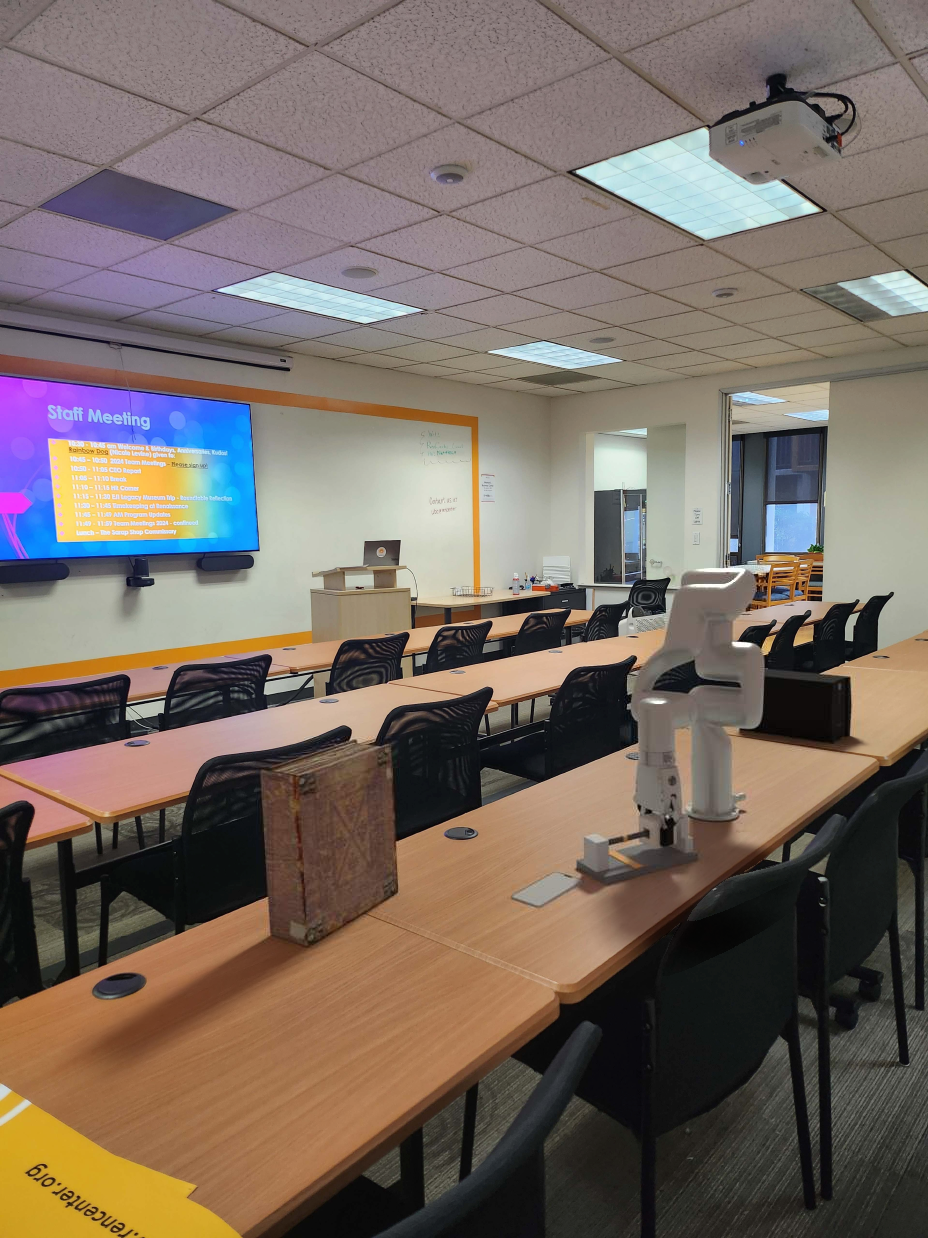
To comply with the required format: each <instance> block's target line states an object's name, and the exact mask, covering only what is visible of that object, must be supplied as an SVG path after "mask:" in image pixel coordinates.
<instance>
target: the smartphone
mask: <svg viewBox="0 0 928 1238" xmlns="http://www.w3.org/2000/svg"><path fill="white" fill-rule="evenodd" d="M583 883H584V881H583V879H581V878H578V877H575V876H571V875H568V874H565V873H561V872H559V871H554V872H551V873H549V874H547V875H546V876H544V877H541V879H538V880H536V881H535V882H533V883H532V884H530V885H527V886H526V887H524V888H522V889H521V890H519V891H517V892H515V893H513V894H512V895H511V896H510V898H511V900H514V901H516V902H519V903H522V904H523V903H524V904H526V905H529V906H532V907H534V908H543V907H544V906H546V905H547V904H549V903H551V902H553V901H555V900H556V899H558V898H560V897H562V896H563V895H565V894H566V893H568V892H570V891H572V890H573V889H575V888H577V887H578V886H580V885H581V884H583Z"/></svg>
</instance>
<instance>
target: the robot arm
mask: <svg viewBox="0 0 928 1238" xmlns="http://www.w3.org/2000/svg"><path fill="white" fill-rule="evenodd" d="M756 591H757V581H756V578H755V575H754V573H753V572H751V570H749V569H746V568H697V569H695V568H694V569H691V570H687V571H685V572H684V573H683V574H682V576H681V577H680V587H679V588H678V589H677V590H676V591H675V593H674V594H673V599H672V604H671V609H670V612H669V613H670V614H669V616H668V617H669V618H668V623H667V628H666V632H665V637H664V641H663V644H662V646H661V647H660V648H658V649H657V650H656V651H655V652H654V653H653V654H651V656H649V657H648V659H647V660H646V661H645V662H644V663H643V664H642V666H641V668H640V669H639V671H638V672H637V674H636V677H635V681H634V686H633V689H632V694H631V701H630V712H631V716H632V718H633V719H634V720H635V721H636V722H637V738H638V739H637V740H638V742H637V743H638V744H637V750H638V754H637V755H638V757H637V758H638V760H637V764H636V765H637V766H636V773H635V794H634V795H633V797H632V800H633V802H634V804H635V805H636V806H637V810H638V812H639V816H641V815H645V814H650V813H654V812H657V813H659V814H660V819H661V824H662V828H660V845H661V846H662V847H665V846H669V845H673V844H674V827H675V826H676V824H677V823H678V821H680V820H681V819H682V818H683V817H684V816H683V813H682V811H683V797H682V785H681V784H682V783H681V775H680V771H679V768H678V765H676V762H677V760H676V733H675V732H676V731H675V730H679V729H687V728H690V729H689V730H690V744H691V745H690V749H691V753H690V754H691V755H690V758H691V759H690V761H691V762H690V763H691V766H690V767H691V769H690V770H691V802H689V803H687V804H686V805H685V806H684V807H685V808H684V810H685V812H687V813H688V816H689V817H691V818H694V819H699V820H702V821H707V822H725V821H731V820H734V819H736V818H737V817H738V816H739V815H740V812H739V811H740V810H739V807H737V806H736V804H737V803H739V802H743V801H746V799H747V795H746V793H745V792H740V793H734V791H733V771H732V770H733V758H732V757H733V756H732V755H733V747H732V746H733V744H732V741H731V737H730V736H729V734H728V733H727V731H726V729H725V728H724V727H726V728H735V729H739V728H744V729H752V728H755V727H757V726H758V725H759V724H760V722H761V719H762V713H763V693H764V669H765V657H764V653H763V651H762V649H761V647H760V646H758V645H757V644H756V643H752V642H746V641H745V642H744V641H742V642H741V641H734V639H733V635H734V634H733V631H734V629H733V628H734V622H733V621H735V620H736V619H738V618H739V617H740V616H741V614H742V613H743V612H744V611H745V610H746V609H747V608H748V606H749V605H750V604H751V603H752V602H753V599H754V597H755V596H756V595H755V594H756ZM691 661H694V665H695V666H694V667H695V672H696V674H697V676H699V677H700V678H702V679H705V680H711V681H712V680H713V681H721V682H723V681H724V682H734V683H735V682H736V683H738V684H739V683H740V685H741V688H738V687H734V686H733V687H732V686H724V685H723V686H722V685H705V684H703V685H698V686H696V687H693V688H692V689H690V691H689V692H688V693H685V692H684V693H683V692H675V691H674V692H673V691H665V690H654V689H653V687H654V685H655V683H656V681H657V680H658V679H659V678H660V677H661V676H662V675H663V674H664V673H665V672H667V671H669V670H671V669H674V668H676V667H678V666H681V665H683V664H686V663H689V662H691ZM681 810H682V811H681ZM667 815H669V819H668V820H666V816H667Z"/></svg>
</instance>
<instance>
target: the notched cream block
mask: <svg viewBox="0 0 928 1238" xmlns="http://www.w3.org/2000/svg"><path fill="white" fill-rule="evenodd" d="M668 819H669V815H667V816H666V820H668ZM660 828H662V824H661V819H660V814H659V813H657V812H654V813H650V814H645V815H641V816H640V815H638V832H641V831H645V830H650V836H646V837H642V838H638V842H639V843H641V844H645V845H647V846H649V847H651V848H653V849H657V848H661V847H662V846H661V845H660ZM676 843H677V824H676V826H675V827H674V844H676Z"/></svg>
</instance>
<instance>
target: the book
mask: <svg viewBox="0 0 928 1238" xmlns="http://www.w3.org/2000/svg"><path fill="white" fill-rule="evenodd" d="M392 755H393V753H392V744H389V743H387V744H384V745H381V746H379V745H372V744H365V743H358V740H357V739H351V740H347V741H345V742H342V743H339V744H336V745H333V746H330V747H327V748H324V749H321V750H318V751H315V752H311V753H309V754H306V755H303V756H300V757H298V758H294V759H291V760H288V761H286V762H282V763H279V764H276V765H273V766H271V767H270V766H269V767H268V768H264V769H262V770H260V771H259V772H260V787H261V788H260V789H261V803H262V821H263V835H264V837H263V839H264V851H265V852H264V853H265V855H264V856H265V869H266V885H267V887H266V888H267V889H266V890H267V901H268V902H267V903H268V904H267V905H268V918H269V933H270V935H271V934H272V935H271V936H275V937H277V936H278V937H277V938H280V937H281V938H280V939H283V938H284V939H283V940H285V941H289V942H293V943H294V942H295V944H297V943H298V945H300V944H301V946H303V945H304V946H303V947H306V946H307V947H306V948H309V947H311V946H313V945H315V944H316V943H318V942H319V941H321V940H323V939H325V938H326V937H328V936H330V935H331V934H333V933H334V932H336V931H337V930H340V928H342V927H344V926H346V925H347V924H349V923H351V922H352V921H354V920H356V919H357V918H359V917H360V916H362V915H364V914H366V913H367V912H369V911H371V910H372V909H374V908H375V907H377V906H378V905H381V904H382V903H383V902H386V901H387V900H388V899H390V898H392V897H394V896H395V895H397V894H398V893H399V879H398V878H399V876H398V857H397V836H396V835H397V834H396V813H395V793H394V792H395V791H394V775H393V773H394V771H393V756H392ZM325 936H326V937H325ZM322 938H323V939H322ZM317 941H318V942H317ZM312 944H313V945H312Z"/></svg>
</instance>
